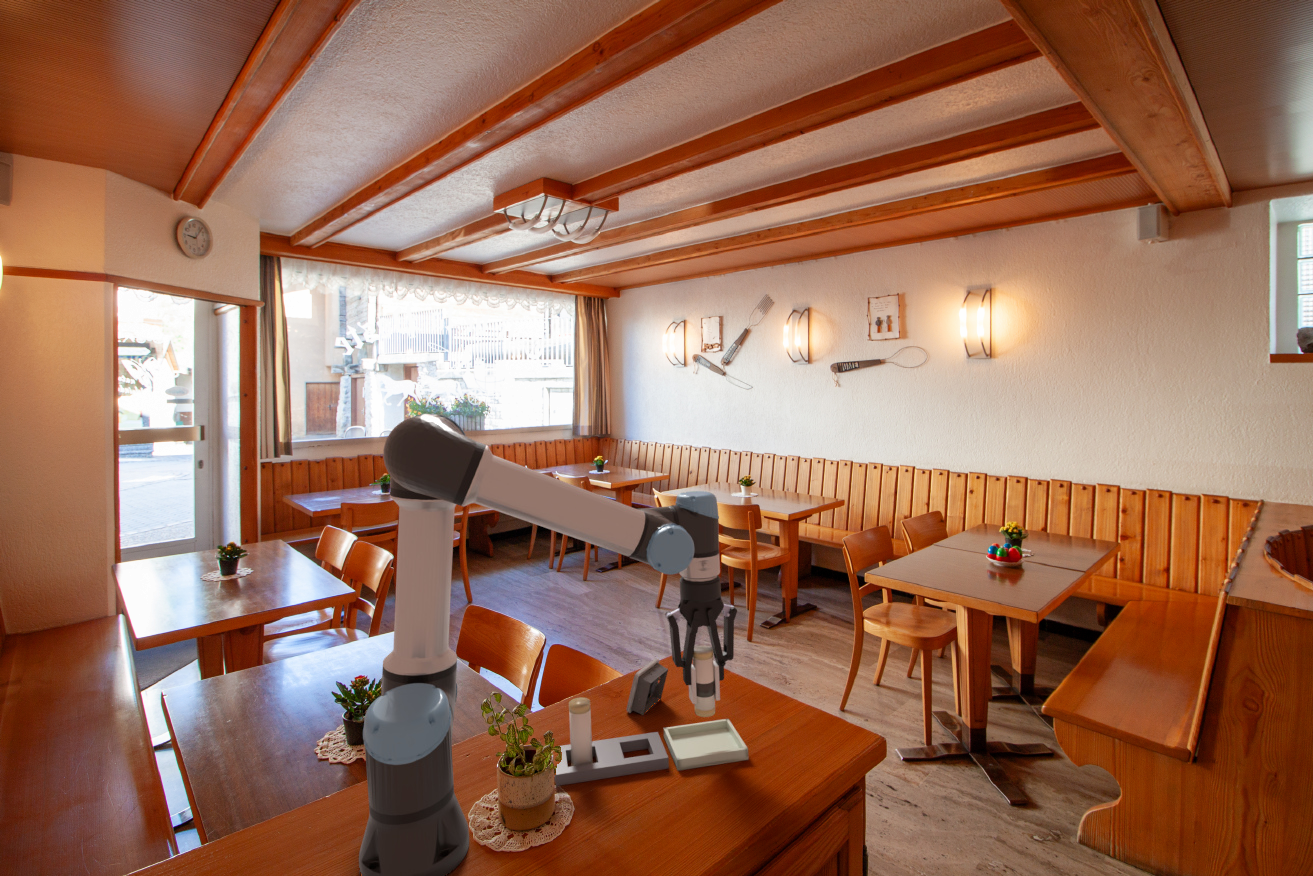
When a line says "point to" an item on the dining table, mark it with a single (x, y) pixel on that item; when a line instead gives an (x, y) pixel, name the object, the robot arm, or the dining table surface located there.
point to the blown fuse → (704, 681)
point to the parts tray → (705, 744)
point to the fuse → (580, 731)
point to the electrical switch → (647, 687)
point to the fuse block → (614, 759)
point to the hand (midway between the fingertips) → (704, 698)
